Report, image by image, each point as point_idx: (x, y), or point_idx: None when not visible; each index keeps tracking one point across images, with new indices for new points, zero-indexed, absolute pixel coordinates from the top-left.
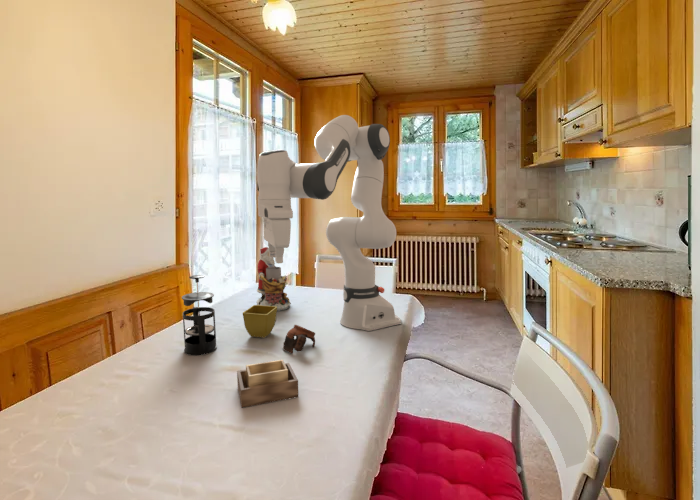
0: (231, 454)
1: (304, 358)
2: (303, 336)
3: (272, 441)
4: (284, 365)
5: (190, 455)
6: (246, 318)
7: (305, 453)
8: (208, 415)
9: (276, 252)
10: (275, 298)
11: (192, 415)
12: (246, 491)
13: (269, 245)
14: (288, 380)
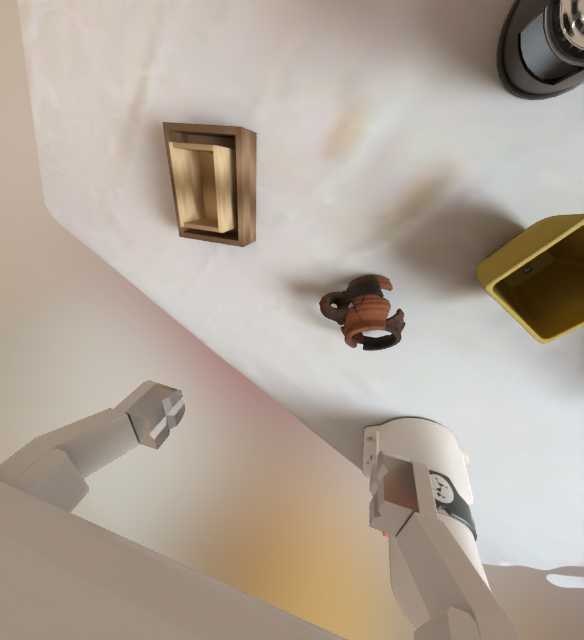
0: (84, 92)
1: (316, 294)
2: (327, 316)
3: (108, 160)
4: (197, 226)
5: (80, 14)
6: (560, 224)
7: (90, 193)
8: (174, 53)
9: (55, 432)
10: None
11: (178, 11)
12: (34, 104)
13: (462, 606)
14: (237, 234)
